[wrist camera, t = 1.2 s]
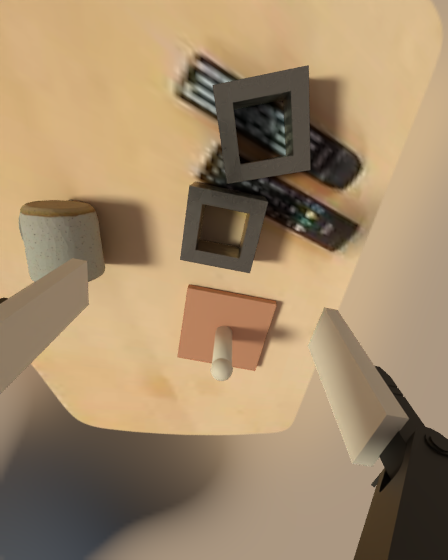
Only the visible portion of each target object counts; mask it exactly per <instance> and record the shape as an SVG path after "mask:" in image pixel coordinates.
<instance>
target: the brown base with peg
mask: <svg viewBox="0 0 448 560" xmlns="http://www.w3.org/2000/svg"><path fill="white" fill-rule="evenodd" d="M276 306H277V304H276V301H273V300H268V299H263V298H257V297H252V296H247V295H241V294H236V293H231V292H225V291H220V290H215V289H210V288H204V287H199V286H194V285H189V286H188V289H187V296H186V303H185V309H184V316H183V323H182V330H181V337H180V343H179V350H178V357H179V358H185V359H190V360H196V361H202V362H208V363H212V365H211V374H212V376H213V377H214V378H215V379H216V380H218V381H225V380H227V379H228V378H229V377H230V376H231V374H232V371H233V367H236V368H242V369H247V370H253V371H255V370H256V367H257V364H258V360H259V357H260V354H261V351H262V348H263V345H264V342H265V339H266V336H267V333H268V330H269V327H270V324H271V321H272V318H273V315H274V312H275V309H276Z"/></svg>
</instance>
